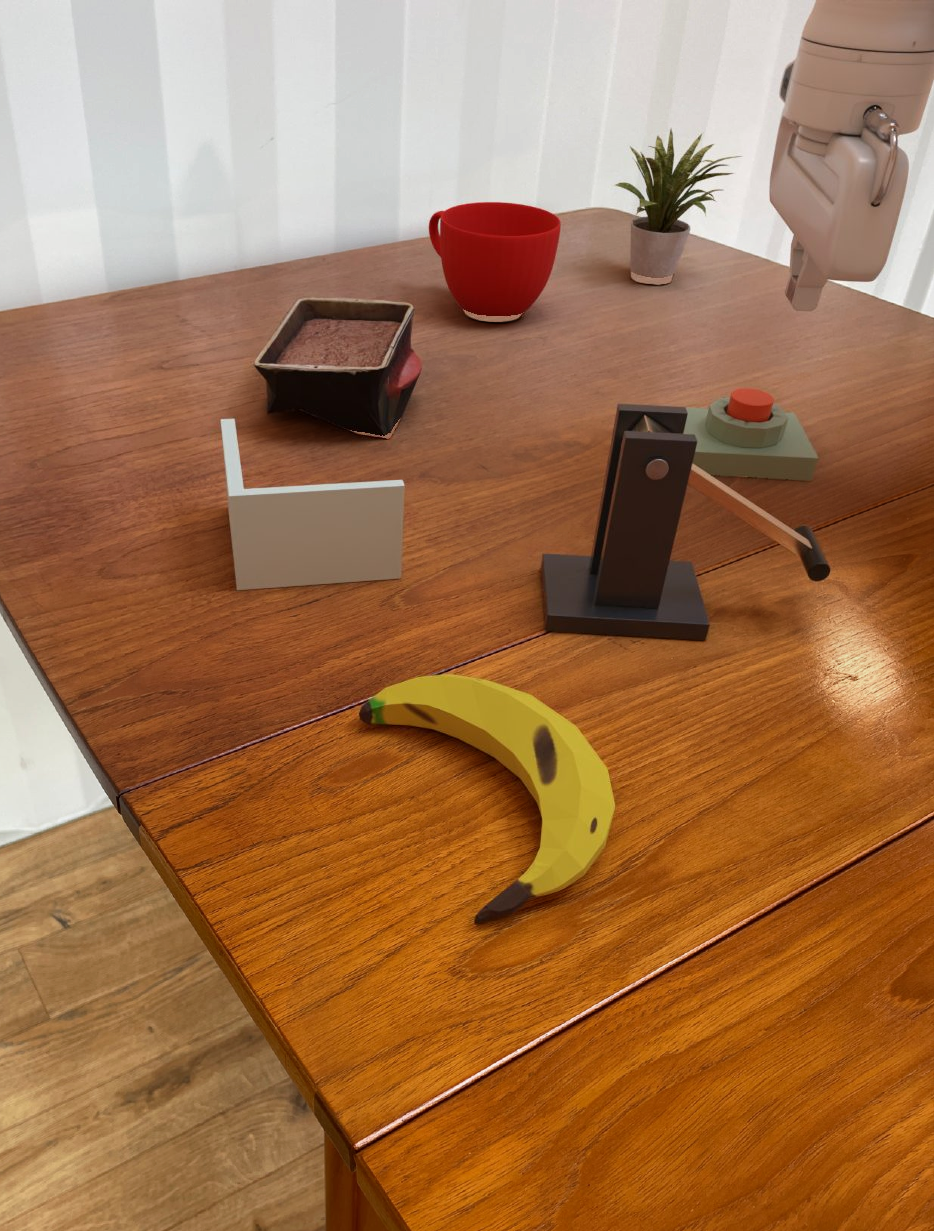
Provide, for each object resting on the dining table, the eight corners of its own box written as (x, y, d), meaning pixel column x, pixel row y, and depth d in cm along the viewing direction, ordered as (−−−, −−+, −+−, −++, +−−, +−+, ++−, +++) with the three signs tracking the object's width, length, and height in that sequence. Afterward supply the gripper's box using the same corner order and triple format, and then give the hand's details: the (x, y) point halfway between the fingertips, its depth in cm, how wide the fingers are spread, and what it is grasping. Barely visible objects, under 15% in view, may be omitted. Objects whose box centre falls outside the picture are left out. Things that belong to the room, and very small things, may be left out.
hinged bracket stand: (688, 577, 78) (732, 399, 69) (705, 641, 72) (757, 455, 63) (540, 569, 78) (565, 391, 69) (545, 631, 72) (573, 445, 63)
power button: (764, 408, 92) (769, 389, 91) (772, 426, 90) (778, 406, 89) (722, 406, 93) (727, 387, 91) (730, 423, 90) (735, 404, 89)
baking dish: (239, 447, 96) (233, 349, 89) (301, 348, 107) (301, 253, 100) (390, 481, 95) (397, 383, 87) (437, 376, 106) (447, 281, 98)
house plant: (683, 310, 121) (716, 153, 110) (574, 286, 126) (596, 133, 116) (725, 278, 130) (759, 130, 119) (622, 256, 136) (646, 113, 125)
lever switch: (796, 551, 74) (822, 526, 73) (813, 590, 70) (841, 565, 69) (618, 434, 69) (642, 405, 68) (626, 469, 66) (651, 439, 64)
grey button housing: (788, 435, 97) (800, 393, 94) (811, 481, 90) (825, 438, 87) (668, 429, 97) (677, 387, 95) (682, 474, 90) (692, 431, 88)
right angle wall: (401, 578, 77) (404, 485, 72) (236, 590, 75) (228, 496, 70) (375, 498, 86) (377, 411, 81) (228, 507, 84) (220, 419, 79)
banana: (407, 626, 65) (254, 788, 57) (669, 722, 57) (533, 925, 49) (415, 679, 68) (271, 839, 60) (663, 777, 60) (535, 976, 52)
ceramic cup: (466, 277, 128) (472, 188, 121) (573, 316, 119) (586, 221, 112) (388, 300, 121) (390, 207, 115) (495, 343, 112) (504, 244, 105)
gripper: (957, 129, 62) (879, 360, 71) (865, 68, 77) (811, 264, 86) (848, 125, 62) (785, 355, 71) (778, 64, 78) (734, 260, 87)
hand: (799, 304), depth 79 cm, fingers closed
